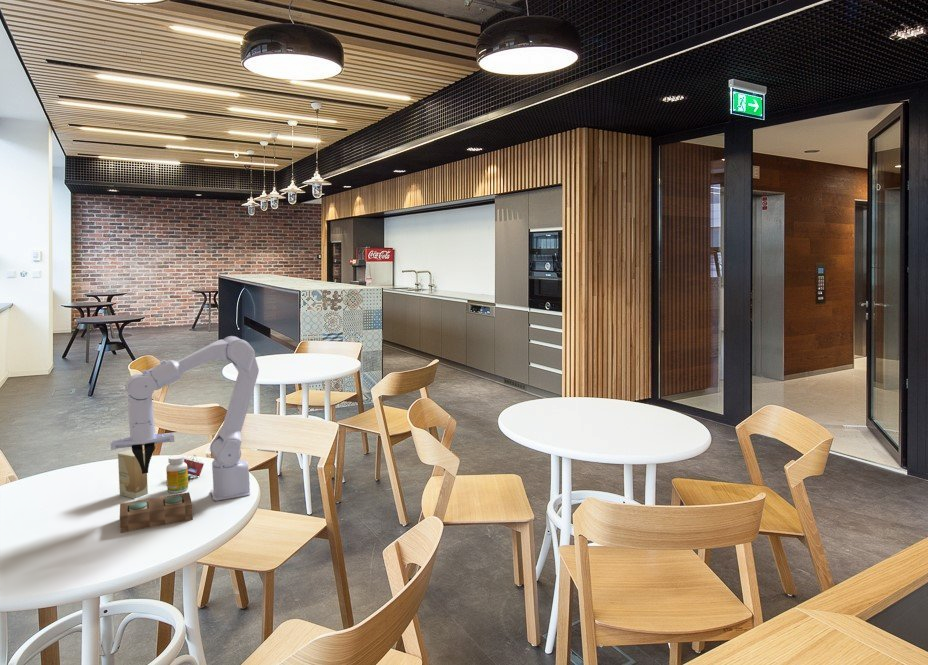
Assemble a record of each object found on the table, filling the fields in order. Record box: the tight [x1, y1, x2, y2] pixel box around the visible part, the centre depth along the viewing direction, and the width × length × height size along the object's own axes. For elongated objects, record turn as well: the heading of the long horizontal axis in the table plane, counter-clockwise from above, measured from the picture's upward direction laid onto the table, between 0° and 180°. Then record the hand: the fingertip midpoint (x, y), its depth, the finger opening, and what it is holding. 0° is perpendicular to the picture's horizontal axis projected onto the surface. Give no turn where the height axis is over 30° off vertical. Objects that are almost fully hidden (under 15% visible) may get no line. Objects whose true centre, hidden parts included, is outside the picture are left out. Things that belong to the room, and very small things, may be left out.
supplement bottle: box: [165, 454, 189, 494], centre depth 175 cm, size 5×5×10 cm
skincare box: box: [117, 448, 149, 499], centre depth 171 cm, size 6×4×12 cm
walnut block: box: [119, 491, 194, 533], centre depth 156 cm, size 16×9×4 cm, turn 118°
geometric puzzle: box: [184, 455, 205, 478], centre depth 185 cm, size 7×7×8 cm
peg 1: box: [129, 502, 147, 512], centre depth 154 cm, size 4×4×4 cm
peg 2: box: [165, 496, 182, 506], centre depth 158 cm, size 4×4×4 cm
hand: (145, 472), depth 160 cm, fingers closed
